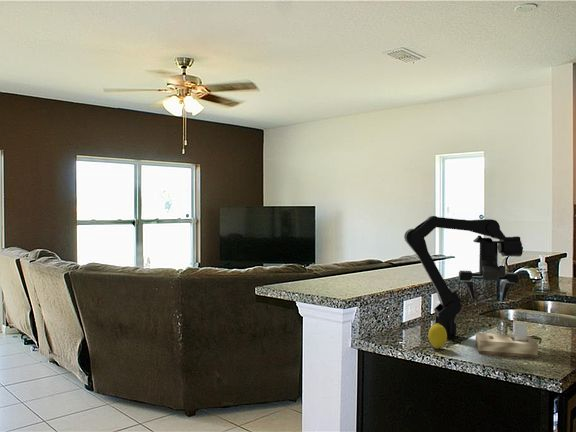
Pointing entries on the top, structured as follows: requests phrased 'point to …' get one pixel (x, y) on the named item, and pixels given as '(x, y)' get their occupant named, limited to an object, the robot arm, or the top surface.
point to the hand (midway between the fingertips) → (487, 301)
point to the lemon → (437, 335)
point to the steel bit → (519, 331)
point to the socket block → (505, 345)
